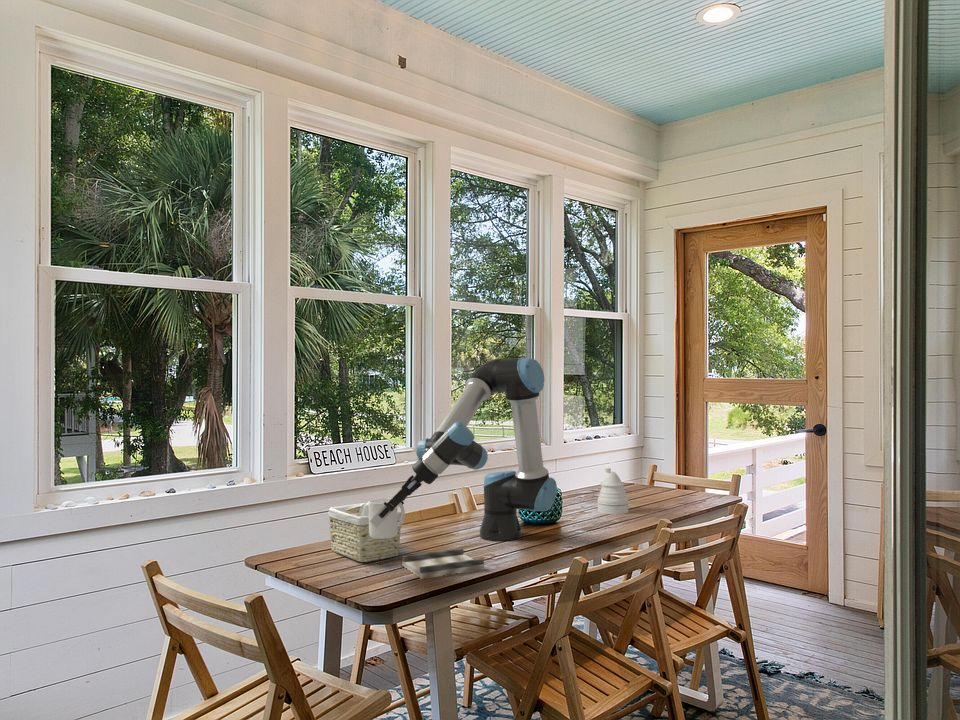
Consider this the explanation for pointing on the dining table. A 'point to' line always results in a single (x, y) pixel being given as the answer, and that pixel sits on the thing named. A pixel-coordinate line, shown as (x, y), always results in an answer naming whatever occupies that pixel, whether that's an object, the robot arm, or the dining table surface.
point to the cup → (390, 522)
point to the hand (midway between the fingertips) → (377, 520)
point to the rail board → (441, 563)
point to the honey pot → (612, 495)
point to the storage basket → (359, 534)
